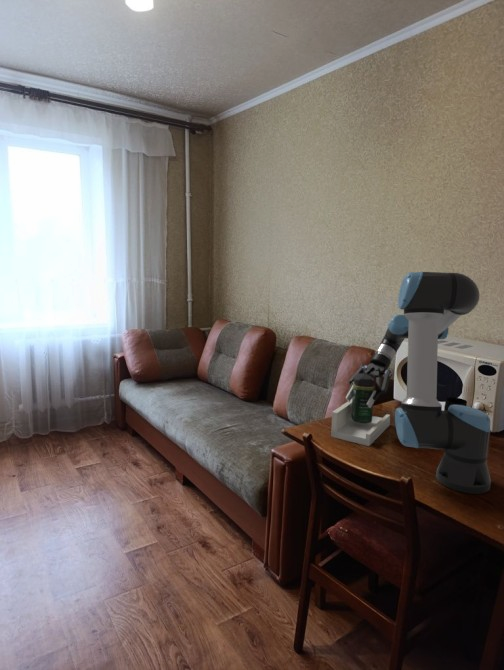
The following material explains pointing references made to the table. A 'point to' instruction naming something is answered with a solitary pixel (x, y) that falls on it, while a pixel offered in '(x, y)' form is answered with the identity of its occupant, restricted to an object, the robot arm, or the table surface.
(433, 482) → the table surface
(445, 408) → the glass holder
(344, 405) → the channel shelf
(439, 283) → the robot arm
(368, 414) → the coffee jar
